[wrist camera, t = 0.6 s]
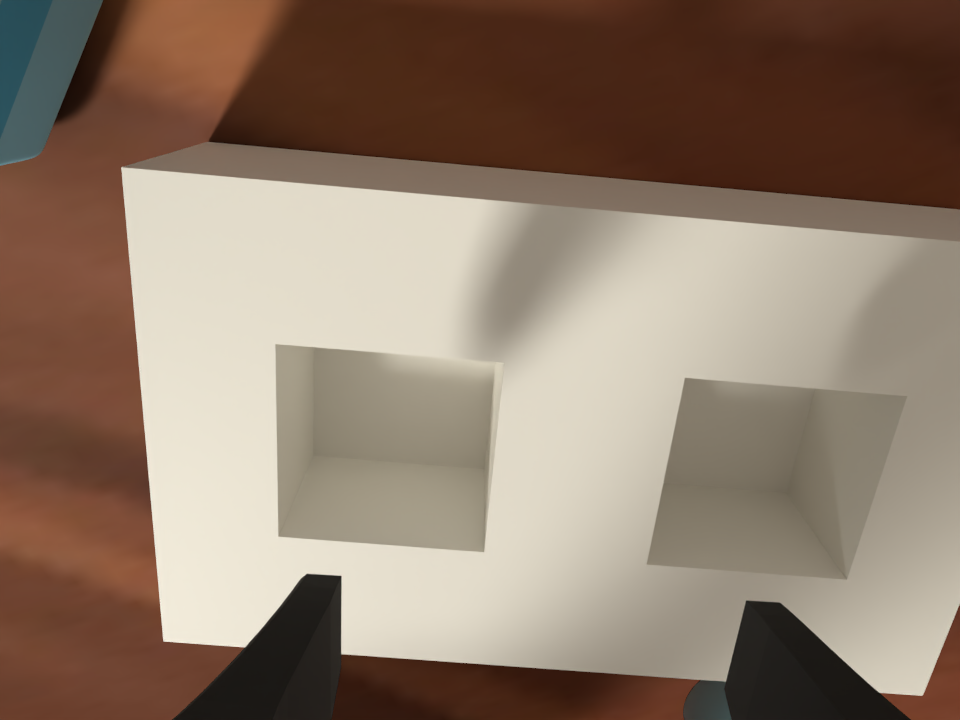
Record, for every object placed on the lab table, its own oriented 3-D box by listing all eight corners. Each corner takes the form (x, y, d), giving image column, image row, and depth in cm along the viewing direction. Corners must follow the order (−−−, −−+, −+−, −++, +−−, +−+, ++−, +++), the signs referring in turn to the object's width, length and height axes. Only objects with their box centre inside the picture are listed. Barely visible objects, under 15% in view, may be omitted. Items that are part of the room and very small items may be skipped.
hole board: (839, 575, 25) (922, 695, 20) (225, 528, 24) (163, 641, 19) (958, 209, 20) (1100, 254, 15) (207, 142, 20) (121, 167, 15)
